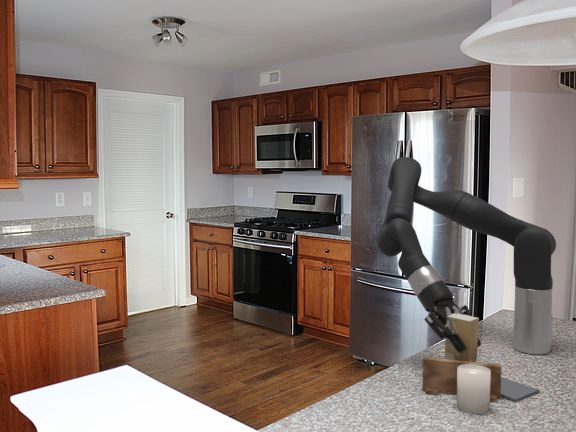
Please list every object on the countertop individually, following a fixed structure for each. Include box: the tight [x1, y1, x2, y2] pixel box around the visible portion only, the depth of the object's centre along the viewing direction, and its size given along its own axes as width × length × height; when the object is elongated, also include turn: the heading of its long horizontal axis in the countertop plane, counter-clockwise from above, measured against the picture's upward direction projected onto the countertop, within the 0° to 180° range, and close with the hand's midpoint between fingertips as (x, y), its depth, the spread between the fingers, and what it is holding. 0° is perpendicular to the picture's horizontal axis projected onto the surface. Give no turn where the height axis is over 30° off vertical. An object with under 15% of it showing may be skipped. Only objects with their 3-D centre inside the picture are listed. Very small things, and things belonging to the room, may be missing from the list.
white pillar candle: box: [456, 364, 491, 416], centre depth 110 cm, size 6×6×8 cm
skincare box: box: [444, 313, 480, 362], centre depth 127 cm, size 6×4×12 cm
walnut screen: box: [422, 356, 502, 403], centre depth 118 cm, size 16×5×7 cm, turn 72°
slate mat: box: [501, 376, 540, 403], centre depth 119 cm, size 9×9×1 cm
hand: (470, 348), depth 125 cm, fingers closed on skincare box, 5 cm apart
